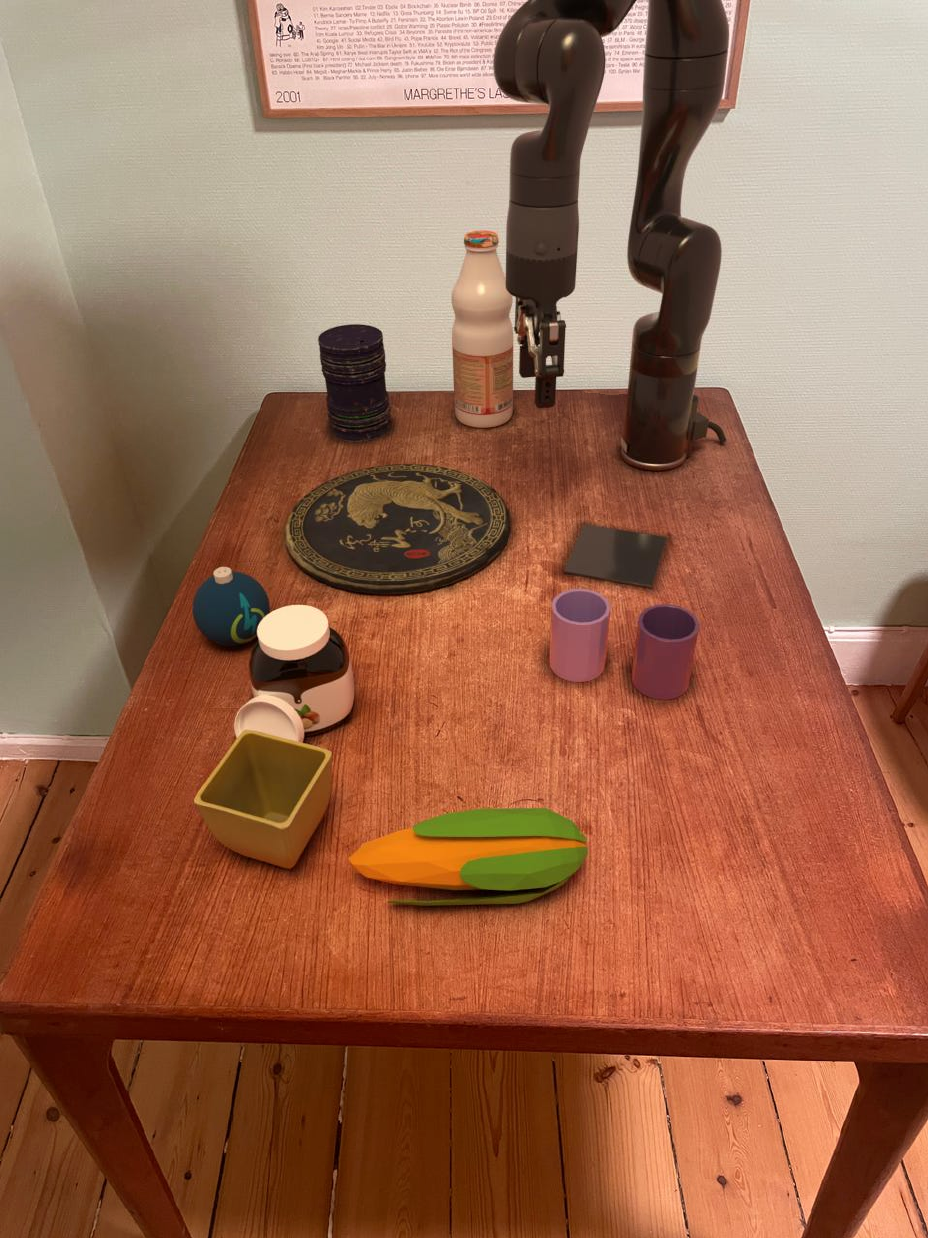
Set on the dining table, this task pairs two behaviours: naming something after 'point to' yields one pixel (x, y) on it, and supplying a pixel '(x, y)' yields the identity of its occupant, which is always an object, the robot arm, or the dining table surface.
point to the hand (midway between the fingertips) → (536, 390)
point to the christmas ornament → (230, 607)
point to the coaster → (616, 556)
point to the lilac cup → (579, 634)
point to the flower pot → (267, 797)
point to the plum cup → (664, 651)
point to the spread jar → (297, 676)
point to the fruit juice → (482, 336)
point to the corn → (478, 854)
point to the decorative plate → (397, 529)
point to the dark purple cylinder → (355, 382)
